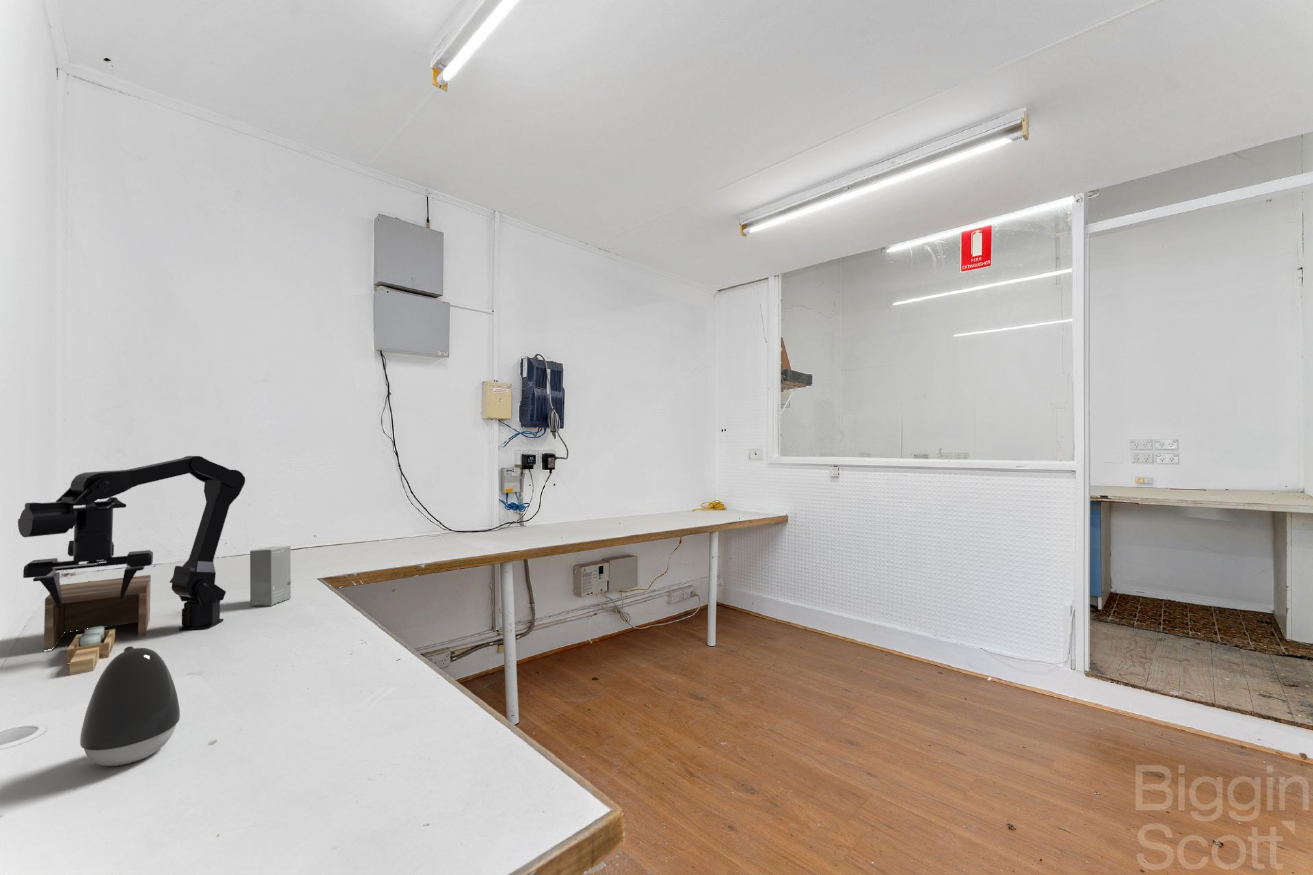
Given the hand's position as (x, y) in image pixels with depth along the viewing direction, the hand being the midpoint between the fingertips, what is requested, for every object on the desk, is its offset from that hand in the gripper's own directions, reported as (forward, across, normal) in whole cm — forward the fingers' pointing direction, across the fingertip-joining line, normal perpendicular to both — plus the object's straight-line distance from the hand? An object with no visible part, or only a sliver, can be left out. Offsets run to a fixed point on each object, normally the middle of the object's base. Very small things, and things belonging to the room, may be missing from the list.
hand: (91, 603), depth 115 cm
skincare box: (+11, -33, -24) cm, 43 cm away
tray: (+11, 0, +2) cm, 11 cm away
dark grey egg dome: (+11, -10, +58) cm, 60 cm away
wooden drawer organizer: (+11, 0, -17) cm, 21 cm away
